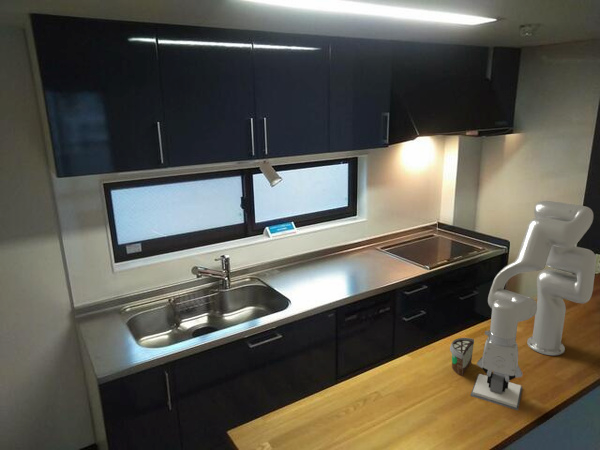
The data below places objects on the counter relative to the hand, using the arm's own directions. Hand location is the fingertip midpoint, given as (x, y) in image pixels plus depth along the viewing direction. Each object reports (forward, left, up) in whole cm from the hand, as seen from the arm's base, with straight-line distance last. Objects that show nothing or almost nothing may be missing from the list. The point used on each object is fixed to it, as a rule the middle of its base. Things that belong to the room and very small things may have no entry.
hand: (497, 386), depth 139 cm
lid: (0, 0, -2) cm, 2 cm away
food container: (-8, -14, -2) cm, 16 cm away
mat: (0, 0, -2) cm, 2 cm away
